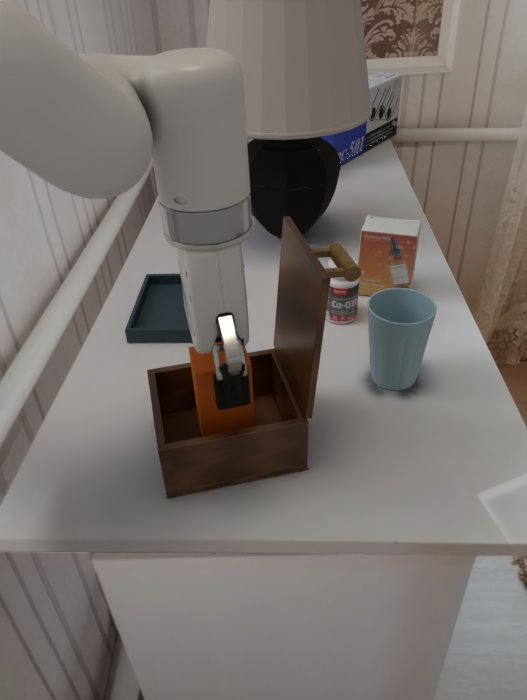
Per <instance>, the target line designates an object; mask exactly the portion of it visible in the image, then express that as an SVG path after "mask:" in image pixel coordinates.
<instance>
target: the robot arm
mask: <svg viewBox="0 0 527 700" xmlns="http://www.w3.org/2000/svg"><path fill="white" fill-rule="evenodd" d="M0 152H1V153H3V154H4V155H6V156H7V157H8V158H10V159H12V160H13V161H15V162H16V163H18V164H19V165H20V166H22V167H23V168H25V169H26V170H28V171H29V172H31V173H32V174H34V175H35V176H37V177H38V178H40V179H42V180H43V181H44V182H45V183H48V184H50V185H52V186H53V187H55V188H57V189H59V190H61V191H63V192H65V193H68V194H71V195H73V196H76V197H79V198H82V199H83V198H84V199H88V200H106V199H112V198H113V199H114V198H115V197H119V196H121V195H123V194H125V193H126V192H129V191H130V190H132V189H133V188H134V187H135V186H136V185H137V184H138V183H140V181H141V180H142V179H143V177H144V176H145V174H146V172H147V171H148V168H149V165H150V163H151V160H152V166H153V174H154V180H155V185H156V192H157V198H158V205H159V212H160V218H161V225H162V230H163V236H164V240H165V241H166V242H167V243H168V244H169V245H170V246H172V247H175V248H176V251H177V261H178V267H179V268H178V269H179V274H180V276H181V283H182V291H183V300H184V307H185V312H186V317H187V321H188V325H189V329H190V333H191V337H192V341H193V342H192V344H193V346H194V348H195V350H196V351H197V352H198V353H199V354H201V355H202V354H204V353H210V352H211V351H212V357H213V362H214V368H215V373H216V374H213V382H214V390H215V398H216V405H217V409H219V410H224V409H229V408H234V407H239V406H244V405H248V404H250V402H251V398H250V386H249V373H248V369H247V366H246V361H245V356H244V350H243V347H245V348H246V347H247V345H248V343H249V341H250V324H249V323H250V322H249V321H250V320H249V308H248V307H249V306H248V294H247V283H246V275H245V274H246V273H245V263H244V255H243V245H242V242H244V241H246V240H247V239H249V237H250V236H252V232H253V230H254V228H253V227H254V226H253V225H254V224H253V215H252V211H251V195H250V177H249V162H248V148H247V131H246V114H245V97H244V82H243V73H242V69H241V66H240V63H239V61H238V60H237V59H236V57H235V56H233V55H232V54H231V53H229V52H227V51H224V50H221V49H215V48H206V47H185V48H178V49H177V48H176V49H171V50H166V51H162V52H159V53H156V54H153V55H147V54H146V55H145V54H144V55H143V54H142V55H141V54H116V53H115V54H113V53H112V54H111V53H99V52H98V53H97V52H84V53H77V52H76V51H74V50H73V49H72V48H71V47H69V46H68V45H67V44H66V43H65V42H64V41H62V40H61V39H60V38H59V37H58V36H57V35H55V33H53V32H52V31H51V30H50V29H48V28H47V27H46V26H45V25H44V24H43V23H42V22H40V20H38V19H37V18H36V16H34V15H33V14H32V13H30V12H29V11H28V10H27V9H26V8H25V7H24V6H23V5H22V4H21V3H20V2H19V1H18V0H0ZM217 342H222V344H216V345H215V343H217ZM220 351H224V353H225V362H226V363H224V364H222V366H221V363H220V358H219V352H220Z"/></svg>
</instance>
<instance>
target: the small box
mask: <svg viewBox="0 0 527 700" xmlns="http://www.w3.org/2000/svg"><path fill="white" fill-rule="evenodd" d="M421 228H422V220H421V219H406V218H396V217H395V218H394V217H383V216H376V215H371V214H370V215H369V214H367V215H366V217H365V220H364V222H363V225H362V227H361V229H360V235H359V237H360V239H359V249H358V250H359V251H358V258H357V262H358V267H359V268H360V269H361V275H360V277H359V292H358V295H360V296H369V297H371V296H372V295H373V294H374V293H376V292H378V291H381V290H384V289H389V288H407V289H413V283H414V276H415V275H414V274H415V270H416V269H415V268H416V263H417V262H416V261H417V257H418V256H417V254H418V247H419V242H420V235H421Z"/></svg>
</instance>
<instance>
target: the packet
mask: <svg viewBox="0 0 527 700" xmlns="http://www.w3.org/2000/svg"><path fill="white" fill-rule="evenodd" d="M216 344H222V342H217V343H215V345H216ZM243 350H244V356H245V361H246V366H247V369H248V373H249V386H250V398H251V402H250V404H248V405H244V406H239V407H234V408H229V409H224V410H219V409H217V405H216V398H215V390H214V382H213V374H216V373H215V368H214V362H213V357H212V351H211V352H210V353H204V354H202V355H201V354H199V353H198V352H197V351H196V350H195V348H194V345H193V346H188V354H189V355H188V356H189V363H191V370H192V378H193V385H194V393H195V400H196V408H197V415H198V423H199V429H200V433H201V437H204V436H209V435H215V434H220V433H225V432H230V431H235V430H241V429H246V428H251V427H255V417H254V399H253V381H252V364H251V362H250V359H249V356H248V353H249V352H248V351H247V349H246V346H245V347H243ZM219 358H220V363H221V366H222V364H224V363H226V362H225V353H224V351H220V352H219Z"/></svg>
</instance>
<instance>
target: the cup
mask: <svg viewBox="0 0 527 700" xmlns="http://www.w3.org/2000/svg"><path fill="white" fill-rule="evenodd" d="M366 307H367V308H366V309H367V324H368V325H367V326H368V348H369V349H368V350H369V369H370V370H369V371H370V379H371V380H372V382H374V384H375V385H377V386H378V387H380V388H382V389H385V390H387V391H388V390H389V391H403V390H407V389H410V388H411V387H412V386H414V384H415V383H416V381H417V378H418V375H419V371H420V369H421V365H422V361H423V358H424V354H425V352H426V347H427V345H428V341H429V338H430V334H431V331H432V329H433V325H434V321H435V318H436V315H437V311H438V306H437V303H436V302H435V300H434V299H433V298H432V297H430V296H429V295H427V294H426V293H424V292H422V291H419V290H416V289H413V288H411V289H407V288H389V289H384V290H381V291H378V292H376V293H374V294H373V295H372V296H369V298H368V300H367V302H366Z"/></svg>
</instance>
